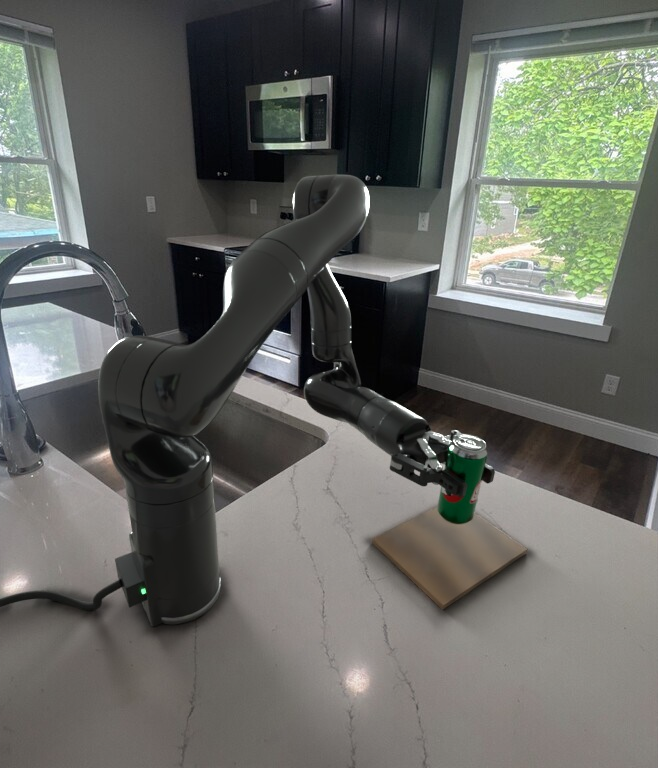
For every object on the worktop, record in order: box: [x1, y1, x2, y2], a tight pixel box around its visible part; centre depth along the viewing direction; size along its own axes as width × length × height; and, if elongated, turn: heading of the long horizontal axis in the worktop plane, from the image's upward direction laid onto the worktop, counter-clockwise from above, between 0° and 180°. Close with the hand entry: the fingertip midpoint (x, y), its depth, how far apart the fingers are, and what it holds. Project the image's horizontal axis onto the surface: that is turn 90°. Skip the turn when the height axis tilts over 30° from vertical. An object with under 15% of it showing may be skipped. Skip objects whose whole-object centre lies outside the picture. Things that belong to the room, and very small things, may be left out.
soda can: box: [436, 433, 489, 524], centre depth 64 cm, size 5×5×12 cm
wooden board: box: [371, 505, 528, 611], centre depth 68 cm, size 18×14×1 cm
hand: (478, 483), depth 61 cm, fingers closed on soda can, 5 cm apart
